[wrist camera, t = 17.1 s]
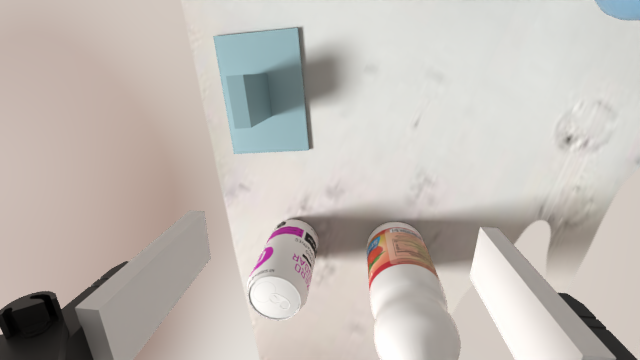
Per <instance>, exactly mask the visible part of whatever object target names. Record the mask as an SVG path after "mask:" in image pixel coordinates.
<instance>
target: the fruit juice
mask: <svg viewBox="0 0 640 360" xmlns="http://www.w3.org/2000/svg"><path fill="white" fill-rule="evenodd" d="M367 261H368V276H369V291H370V303H371V309H372V313H373V316H374V318H375V320H376V321H375V325H374V342H375V347H376V351H377V353H378V355H379V357H380V359H381V360H458V358H459V355H460V349H461V342H460V336H459V332H458V329H457V326H456V324H455V322H454V320H453V318H452V317H451V316H450V314H449V313H448V312H447V301H446V297H445V293H444V290H443V287H442V285H441V283H440V280H439V278H438V275H437V273H436V270H435V268H434V265H433V263H432V260H431V258H430V255H429V253H428V250H427V248H426V245H425V243H424V241H423V238H422V237H421V235H420V234H419V232H418V231H417V230H416V229H415V228H413V227H412V226H410V225H408V224H406V223H402V222H389V223H385V224H383V225H381V226H379V227H377V228H376V229H375V230H374V231H373V232H372V233H371V235H370V237H369V239H368V243H367Z"/></svg>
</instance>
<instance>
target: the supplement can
mask: <svg viewBox="0 0 640 360" xmlns="http://www.w3.org/2000/svg"><path fill="white" fill-rule="evenodd" d="M318 244H319V243H318V236H317V234H316V232H315V231H314V229H313V228H312V227H311V226H310V225H309V224H307V223H305V222H303V221H300V220H293V219H291V220H286V221H283V222H281V223H280V224H278V225H277V226H276V227H275V229H274V230H273V232H272V234H271V236H270V238H269V240H268V242H267V244H266V245H265V247H264V249H263V251H262V253H261V255H260V257H259V259H258V261H257V263H256V265H255V267H254V269H253V271H252V273H251V275H250V277H249V279H248V284H247V290H248V300H249V304H250V305H251V307H252V308H253V310H254V311H256V312H257V313H258V314H259V315H260V316H263V317H265V318H267V319H270V320H277V321H279V320H286V319H289V318H290V317H292V316H294V315H295V314H296V313H297V312H298V311H299V310H300V309H301V308H302V307H303V305H304V304H305V302H306V299H307V296H308V291H309V286H310V281H311V277H312V272H313V267H314V263H315V258H316V253H317V248H318Z"/></svg>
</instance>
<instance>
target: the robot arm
mask: <svg viewBox="0 0 640 360" xmlns="http://www.w3.org/2000/svg"><path fill="white" fill-rule="evenodd" d="M595 1H596V3H597V4H598V6H599V7H600V9H601V10H602V11H603V12H604V13H605V14H607V15H610V16H612V17H614V18H618V19H621V20H640V0H595ZM210 259H211V256H210V249H209V242H208V234H207V228H206V220H205V213H204V211H189V212H187V213H186V214H185V215H184V216H183V217H182V218H180V219H179V220H178V221H177V222H176V223H174V224H173V225H172V226H171V227H170V228H168V229H167V230H166V231H165V232H164V233H163V234H161V235H160V236H159V237H158V238H157V239H156V240H155V241H153V242H152V243H151V244H150V245H148V246H147V247H146V248H145V249H144V250H142V251H141V252H140V253H139V254H138V255H137V256H136V257H134V258H133V259H132V260H131V261H129V262H127V261H126V262H123V263H122V264H120V265H118V266H116V267H114V268H112V269H111V270H109V271H108V272H107V273H106V274H104V275H103V276H102V277H101V279H100V280H99V279H98V280H97V281H96V282H95V283H93V284H92V285H91V287H88V288H87V289H86V290H85V291H84V292H82V293H81V294H80V295H79V296H77V297H76V298H75V299H74V300H72V301H71V302H70V303H69V304H67V305H66V306H65V307H64V308H63V309H61V308H60V305H59V302H58V300H57V297H56V294H55V293H53V292H49V291H42V292H37V293H32V294H29V295H27V296H23V297H21V298H19V299H17V300H15V301H13V302H11V303H9V304H8V305H6V306H5V307H4V308H3V309H1V310H0V328H1V330H2V332H3V335H0V360H133V359H134V358H135V356H136V355H137V354H138V353H139V351H140V350H141V349H142V347H143V346H144V345H145V343H146V342H147V341H148V340H149V338H150V337H151V335H152V334H153V333H154V332H155V330H156V329H157V328H158V327H159V325H160V324H161V323H162V321H163V320H164V319H165V317H166V316H167V315H168V314H169V312H170V311H171V310H172V308H173V307H174V306H175V304H176V303H177V302H178V300H179V299H180V298H181V296H182V295H183V294H184V293H185V291H186V290H187V289H188V288H189V286H190V285H191V284H192V282H193V281H194V280H195V278H196V277H197V276H198V274H199V273H200V272H201V271H202V269H203V268H204V267H205V265H206V264H207V263H208V261H209V260H210ZM470 279H471V281H472V282H473V284H474V286H475V288H476V290H477V291H478V293H479V295H480V297H481V299H482V300H483V302H484V304H485V306H486V308H487V310H488V311H489V313H490V315H491V317H492V318H493V320H494V322H495V324H496V325H497V328H498V329H499V331H500V333H501V335H502V337H503V338H504V340H505V342H506V344H507V346H508V347H509V349H510V351H511V353H512V355H513V356H514V358H515V360H637V359H636V358H635V357H634V356H633V355H632V354H631V353H630V352H629V351H628V350H627V349H626V347H625V346H624V345H623V344H622V343H621V342H620V341H619V340H618V339H617V338H616V337H615V336H614V335H613V334H612V333H611V332H610V331H609V330H606V327H605V326H604V325H603V324H602V323H601V322H600V321H599V320H597V319H596V317H595V316H594V315H593V314H592V313H591V312H590V311H589V310H588V309H587V308H586V307H585V306H584V305H583V304H582V303H580V302H579V301H577V300H576V299H574V298H573V297H571V296H570V295H568V294H566V293H557V292H556V291H555V290H554V289H553V288H552V287H551V286H550V285H549V283H548V282H547V281H546V280H545V279H544V278H543V277H542V276H541V275H540V274H539V273H538V271H537V270H536V269H535V268H534V267H533V266H532V265H531V264H530V263H529V261H528V260H527V259H526V258H525V257H524V256H523V255H522V254H521V253H520V252H519V250H518V249H517V248H516V247H515V246H514V245H513V244H512V243H511V242H510V241H509V239H508V238H507V237H506V236H505V235H504V234H503V233H502V232H501V231H500V230H499V228H493V227H480V230H479V235H478V239H477V244H476V249H475V253H474V258H473V263H472V268H471V272H470Z"/></svg>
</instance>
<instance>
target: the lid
mask: <svg viewBox="0 0 640 360" xmlns="http://www.w3.org/2000/svg"><path fill="white" fill-rule="evenodd" d="M213 37H214V43H215V48H216V54H217V60H218V65H219V71H220V77H221V82H222V88H223V94H224V99H225V105H226V111H227V117H228V122H229V128H230V134H231V139H232V145H233V151H234V154H242V153H262V152H282V151H303V150H309V142H308V131H307V120H306V109H305V98H304V87H303V76H302V65H301V54H300V43H299V32H298V28H291V29H281V30H271V31H262V32H252V33H242V34H232V35H223V36H213Z"/></svg>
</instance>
